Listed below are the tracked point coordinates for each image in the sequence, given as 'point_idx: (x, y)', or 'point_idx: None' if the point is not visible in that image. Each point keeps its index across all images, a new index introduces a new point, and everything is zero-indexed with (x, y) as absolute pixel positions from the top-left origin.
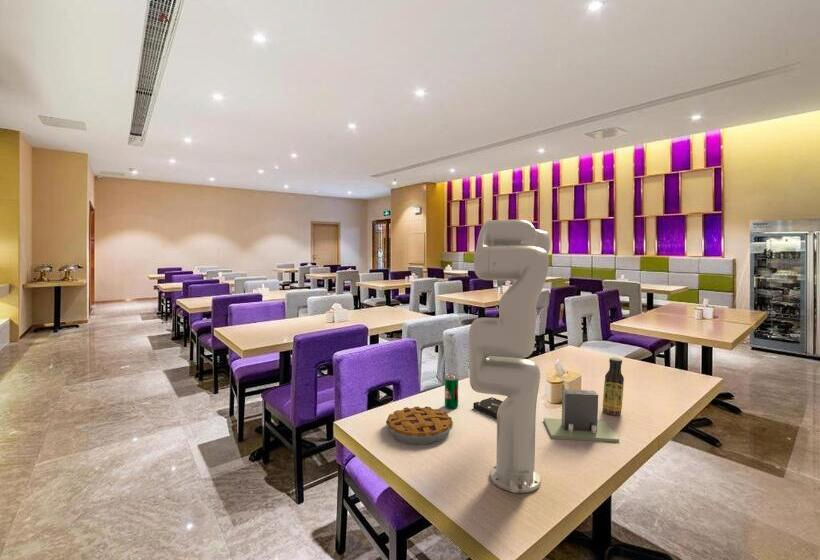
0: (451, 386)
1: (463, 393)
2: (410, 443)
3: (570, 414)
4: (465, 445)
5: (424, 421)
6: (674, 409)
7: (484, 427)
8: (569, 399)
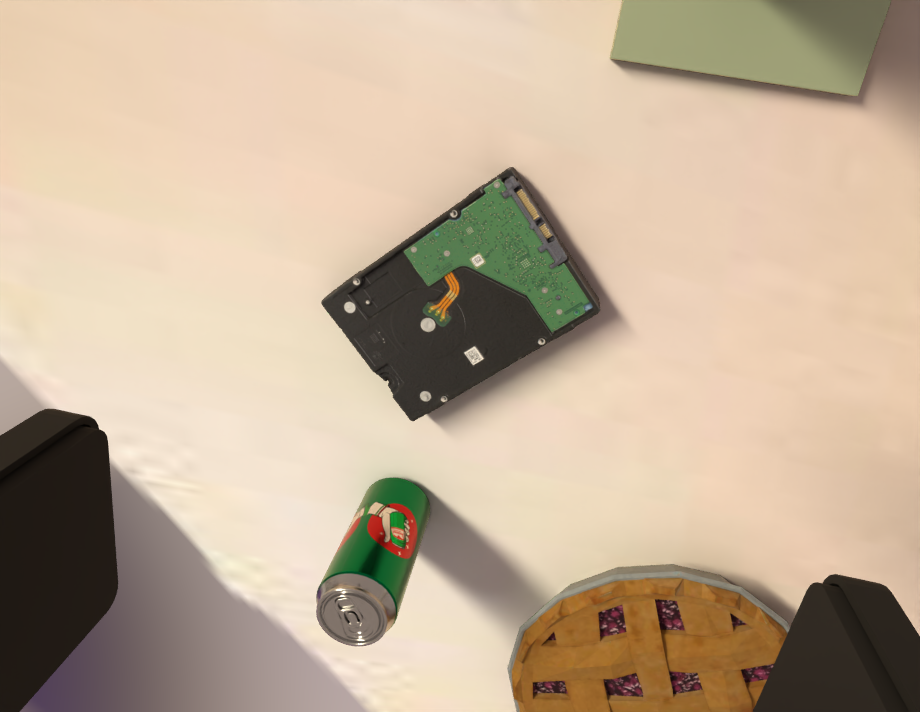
0: (405, 588)
1: (212, 411)
2: None
3: None
4: (825, 527)
5: (702, 697)
6: None
7: (655, 409)
8: None
